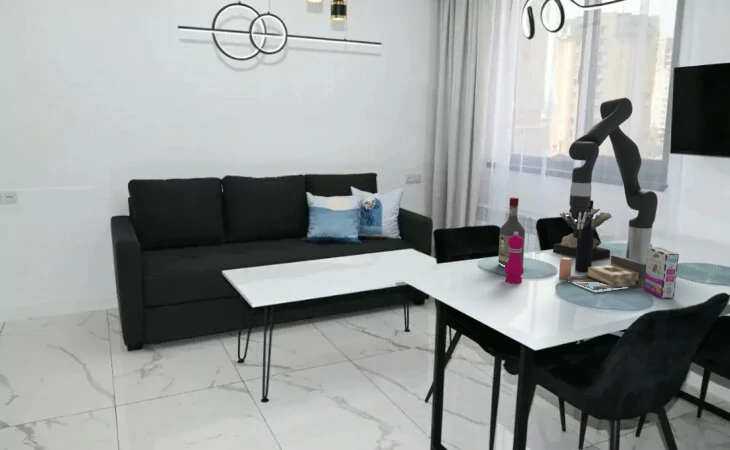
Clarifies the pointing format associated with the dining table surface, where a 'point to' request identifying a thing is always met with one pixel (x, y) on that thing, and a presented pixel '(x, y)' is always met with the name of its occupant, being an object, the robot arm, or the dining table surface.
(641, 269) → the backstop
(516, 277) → the pepper mill
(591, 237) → the wine bottle
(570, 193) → the robot arm
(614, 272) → the socket block
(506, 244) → the liquor
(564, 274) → the dowel
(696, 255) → the dining table surface
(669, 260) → the candy bar box
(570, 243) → the coral
